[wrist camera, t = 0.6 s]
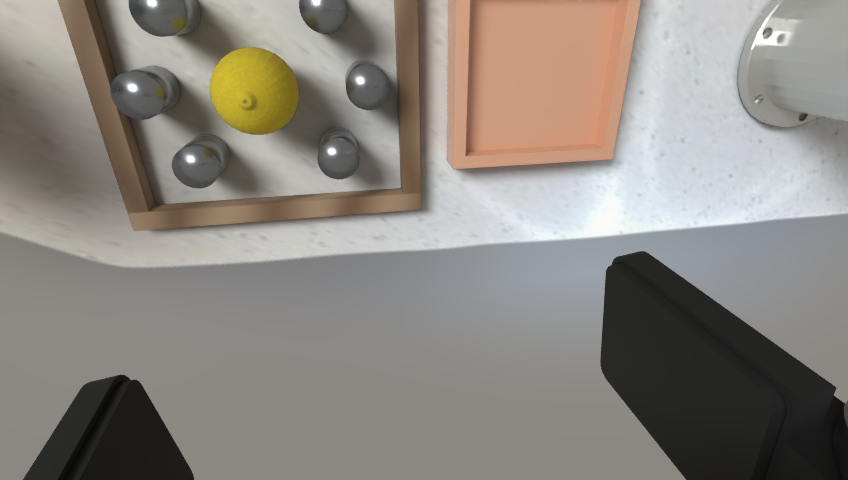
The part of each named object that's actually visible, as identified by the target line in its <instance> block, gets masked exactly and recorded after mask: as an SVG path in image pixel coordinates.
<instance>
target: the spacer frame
mask: <svg viewBox="0 0 848 480" xmlns="http://www.w3.org/2000/svg"><path fill="white" fill-rule="evenodd" d="M58 3H59V6H60V9H61V12H62V15H63V18H64V21H65V24H66V27H67V30H68V33H69V36H70V39H71V42H72V45H73V48H74V51H75V54H76V57H77V61H78V64H79V67H80V70H81V73H82V76H83V79H84V82H85V85H86V88H87V91H88V94H89V97H90V100H91V103H92V106H93V109H94V112H95V115H96V118H97V121H98V124H99V127H100V130H101V133H102V136H103V139H104V142H105V145H106V149H107V152H108V155H109V158H110V161H111V164H112V167H113V170H114V173H115V176H116V179H117V182H118V185H119V188H120V191H121V194H122V197H123V200H124V203H125V206H126V209H127V212H128V215H129V218H130V221H131V224H132V227H133V230H134V231H140V230H153V229H166V228H180V227H193V226H206V225H220V224H233V223H246V222H260V221H273V220H286V219H300V218H313V217H326V216H340V215H353V214H366V213H380V212H393V211H406V210H419V209H421V177H420V113H419V50H418V0H394V7H395V35H396V62H397V90H398V118H399V145H400V173H401V188H397V189H383V190H368V191H353V192H338V193H324V194H309V195H294V196H279V197H265V198H250V199H235V200H221V201H206V202H191V203H176V204H162V205H155V201H154V198H153V195H152V191H151V188H150V184H149V181H148V178H147V174H146V171H145V168H144V164H143V161H142V158H141V154H140V151H139V147H138V144H137V141H136V137H135V134H134V131H133V127H132V124H131V121H130V117H129V116H127V115H125V114H124V113H122V112H121V111H120V110H119V109H118V108H117V107H116V105H115V104H114V102H113V100H112V97H111V93H110V88H111V84H112V81H113V80H114V79H115V77H117V73H116V70H115V67H114V63H113V60H112V57H111V53H110V50H109V47H108V43H107V40H106V36H105V33H104V30H103V26H102V23H101V20H100V16H99V13H98V10H97V6H96V3H95V0H58Z"/></svg>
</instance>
